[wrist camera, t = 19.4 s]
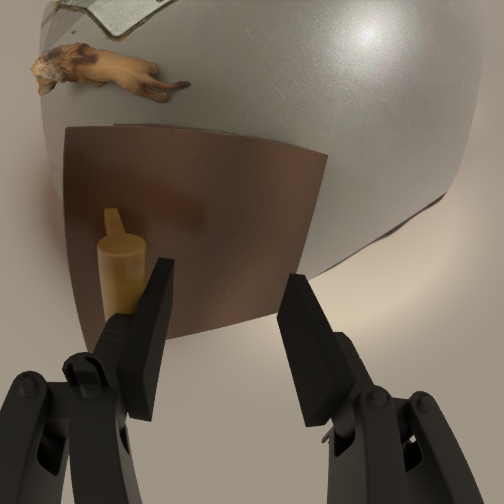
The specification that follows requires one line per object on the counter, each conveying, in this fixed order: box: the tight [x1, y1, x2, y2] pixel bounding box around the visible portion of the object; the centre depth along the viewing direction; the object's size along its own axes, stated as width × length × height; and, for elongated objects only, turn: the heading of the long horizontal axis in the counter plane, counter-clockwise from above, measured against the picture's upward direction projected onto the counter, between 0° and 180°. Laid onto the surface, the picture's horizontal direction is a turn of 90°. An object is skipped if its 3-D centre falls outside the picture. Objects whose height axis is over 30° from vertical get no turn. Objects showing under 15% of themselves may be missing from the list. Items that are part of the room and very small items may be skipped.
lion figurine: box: [31, 43, 190, 103], centre depth 17 cm, size 15×5×9 cm, turn 75°
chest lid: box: [63, 126, 328, 353], centre depth 15 cm, size 16×14×6 cm
